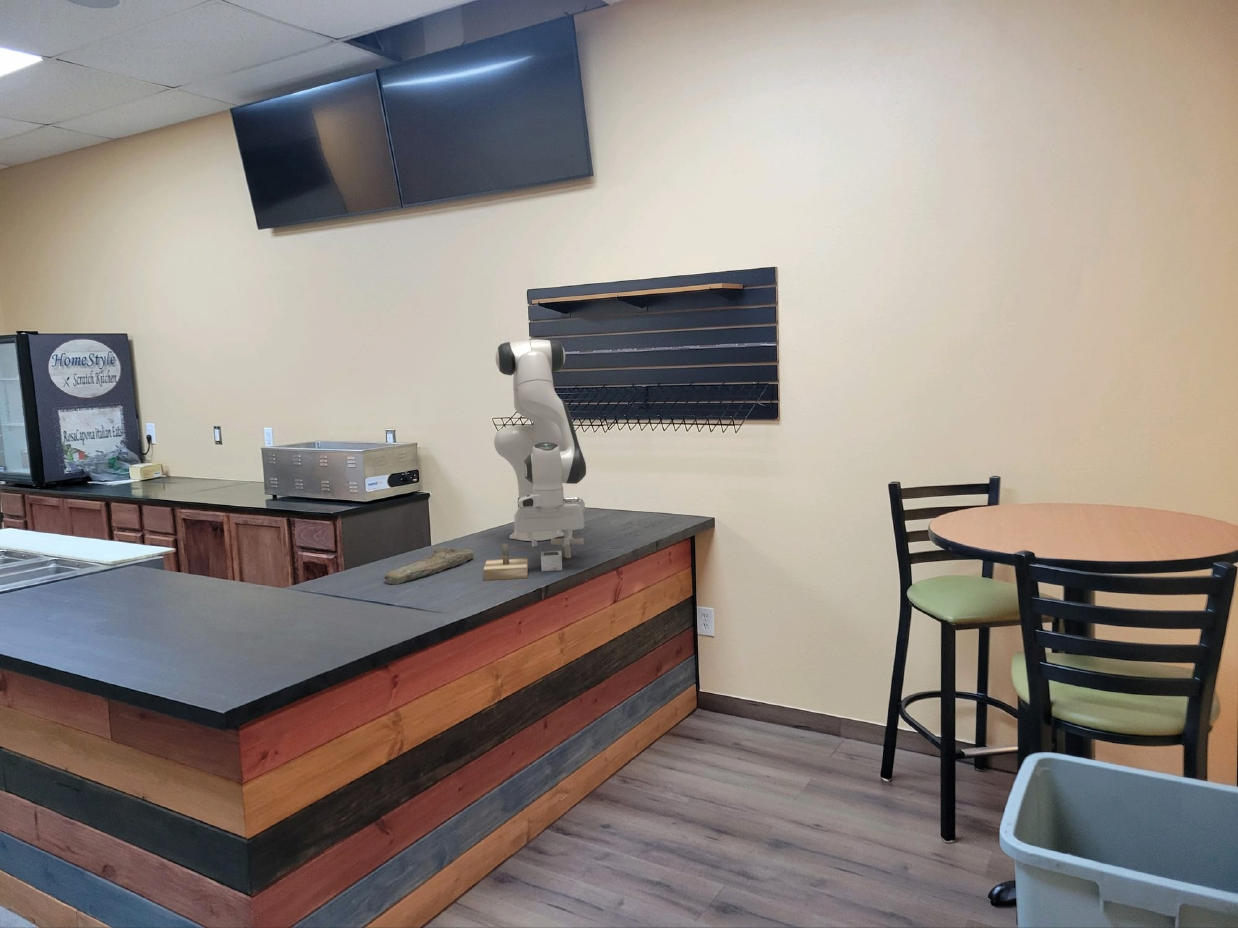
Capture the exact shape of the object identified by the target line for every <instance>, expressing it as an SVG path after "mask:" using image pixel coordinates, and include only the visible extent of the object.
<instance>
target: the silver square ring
mask: <svg viewBox="0 0 1238 928" xmlns="http://www.w3.org/2000/svg"><path fill="white" fill-rule="evenodd" d="M540 562H541V563H540V565H541V572H552V571H553V572H554V571H563V555H562V550H553V551H552V550H551V551H540Z"/></svg>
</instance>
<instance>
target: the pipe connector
mask: <svg viewBox="0 0 1238 928" xmlns="http://www.w3.org/2000/svg"><path fill="white" fill-rule="evenodd" d="M563 533H564V536H563V538H553V539H550V545H553V546H555V545H559V546H560V545H561V546H562V548H564V559H570V558H572V555H571V553H572V551H571V545H584V544H585V543H584V542H585V540H584V538H582V537H581V538H574V537H573V535H572V536H571V537H570V539H569V545H564V538H567V537H568V535H569V533H568V530H563Z"/></svg>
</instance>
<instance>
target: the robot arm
mask: <svg viewBox="0 0 1238 928" xmlns="http://www.w3.org/2000/svg"><path fill="white" fill-rule="evenodd" d="M565 360H566V352H565V348H564V347H563V344H562V342H561V341H559V340H557V339H549V340H548V339H529V340H527V339H526V340H519V341H512V342H510V341H507V342H503V343H500V344H499V345H498V347H497V349H496V353H495V364H496V367H497V368H498V370H499V372H500V373H502V375H506V376H513V379H512V381H513V383H512V387H513V404H514V405H513V407H514V409H515V412H516V413H518V414H519V415H520V416H522V417H524V418H527V419H528V420H530V421H532V423H533V424H528V425H527V424H526V425H525V424H524V425H511V426H507V427H502V428H500V429H498V431H497V432H496V434H495V436H494V440H493V444H494V448H495V451H496V453H497V454H498V455H499V456H500V457H502V458H503V459H505V460H506V461H507V462H508V464H510V465H511V467H512V468H513V470H514V472H515V475H516V480H517V486H518V498H517V510H516V512H515V514H514V517H513V520H514V521H513V522H514V532H512V533H511V534H510V535H509V539H510V540H518V541H526V542H531V547H532V548H535V547H538V542H539V541H546V540H551V539H557V538H559V537H561V538H562V537H563V539H564V545H569V539H570V537H571V536H572V537H573V532H574V531H575V530H583V529H584V527H585V518H584V511H585V509H586V508H585V507H586V506H585V501H584V500H583V499H581V498H580V497H564V496H565V495H564V494H565V493H564V485H563V484H567V485H568V484H570V485H577V484H578V483H580V482H581V481H582V480H583V479H584V478H585V476H586V475H587V462H586V460H585V457H584V454H583V452H582V449H581V446H580V442H579V439H578V436H577V433H576V429H575V426H574V422H573V419H572V416H571V413H570V410H569V407H568V405H567V403H566V401H565V400H563V399H561V398H560V397H559V396H558V394H557V392H556V391H555V386H554V380H553V378H554V377H553V374H552V373H556V372H559V371H561V370H562V368H564V364H565V362H566V361H565ZM564 530H568V533H569V535H568V537H567V538H564ZM573 530H574V531H573Z"/></svg>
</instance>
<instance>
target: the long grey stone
mask: <svg viewBox="0 0 1238 928" xmlns="http://www.w3.org/2000/svg"><path fill="white" fill-rule="evenodd" d="M472 558H474V551H473V550H472V549H468V548H460V549H457V548H454V547H449V546H447V547H446V546H445V548H443V547H441V546H438V547H436V548H434V549H433V551H432V553H431V554H429V555H426V558H425V559H422V560H418V561H416V562H412V563H410V564H408V565H404V566H401V567H398V568H396V569H391V570H389V571H387V573H386V574H384V580H386V581H385V582H386V584H389V585H401V584H403V583H405V582H408V581H412V580H417V579H420V578H425V577H427V576H432V575H434V574H437V572H438V573H441V572H442V571H444V570H446V569H450V568H454V567H455V568H456V567H457V566H459V565H463V564H466V563H467V561H469V560H471V559H472ZM400 583H401V584H400Z"/></svg>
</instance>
